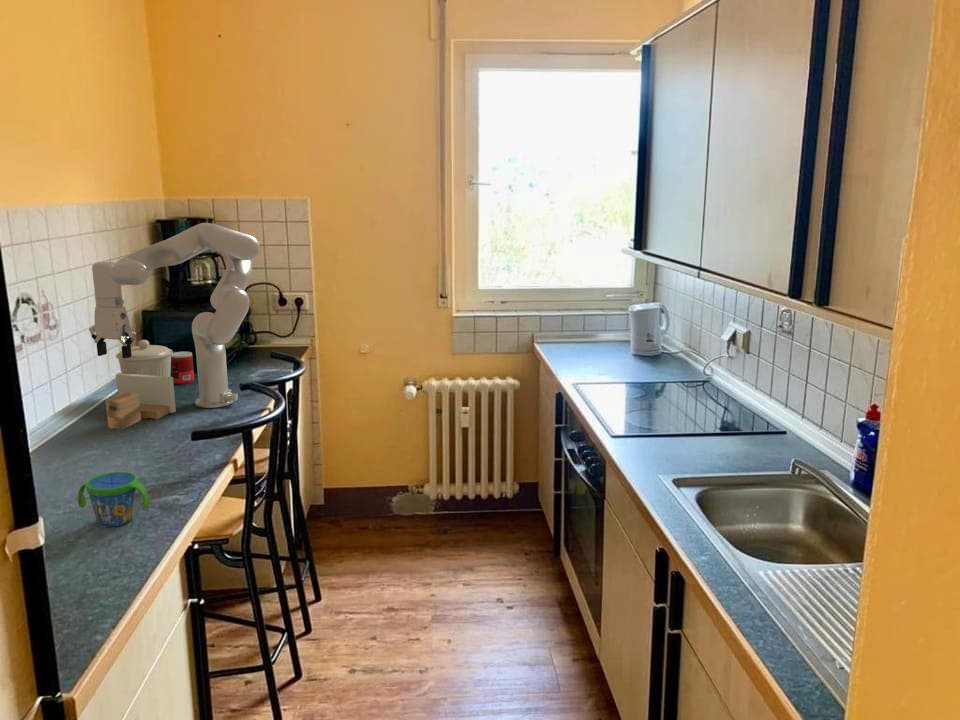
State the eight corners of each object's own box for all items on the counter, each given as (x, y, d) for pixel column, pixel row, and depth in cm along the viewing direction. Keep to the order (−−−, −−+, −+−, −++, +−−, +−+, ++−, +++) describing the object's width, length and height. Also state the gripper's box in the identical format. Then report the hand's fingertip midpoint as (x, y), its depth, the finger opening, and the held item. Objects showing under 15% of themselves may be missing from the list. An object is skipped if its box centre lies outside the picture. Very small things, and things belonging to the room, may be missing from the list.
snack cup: (160, 514, 179) (156, 473, 176) (133, 534, 169) (129, 491, 166) (99, 508, 181) (94, 469, 179) (69, 528, 171) (64, 486, 169)
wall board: (176, 411, 253) (172, 377, 250) (160, 419, 245) (156, 383, 242) (123, 407, 258) (119, 373, 255) (106, 414, 250) (102, 379, 247)
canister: (186, 392, 275) (181, 335, 270) (160, 407, 258) (154, 346, 253) (138, 390, 277) (132, 333, 272) (110, 405, 260) (103, 345, 255)
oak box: (141, 420, 245) (138, 393, 242) (121, 430, 236) (118, 402, 233) (127, 419, 246) (124, 392, 243) (107, 428, 237) (104, 401, 234)
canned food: (198, 379, 292) (195, 351, 289) (188, 385, 284) (185, 356, 282) (178, 378, 293) (176, 351, 290) (168, 384, 285) (166, 355, 282)
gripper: (140, 302, 235) (145, 356, 239) (96, 298, 241) (102, 351, 245) (122, 306, 228) (127, 361, 232) (77, 302, 234) (83, 356, 238)
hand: (114, 356), depth 238 cm, fingers open, 9 cm apart
